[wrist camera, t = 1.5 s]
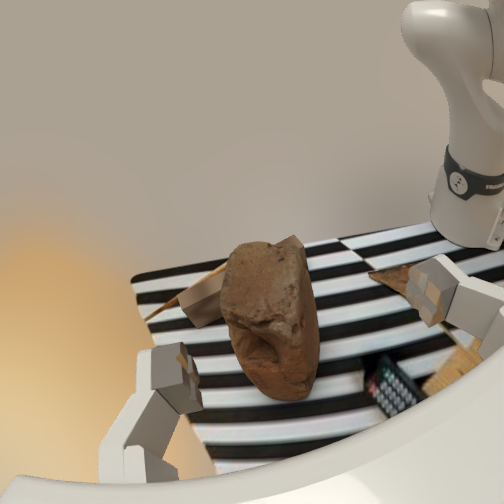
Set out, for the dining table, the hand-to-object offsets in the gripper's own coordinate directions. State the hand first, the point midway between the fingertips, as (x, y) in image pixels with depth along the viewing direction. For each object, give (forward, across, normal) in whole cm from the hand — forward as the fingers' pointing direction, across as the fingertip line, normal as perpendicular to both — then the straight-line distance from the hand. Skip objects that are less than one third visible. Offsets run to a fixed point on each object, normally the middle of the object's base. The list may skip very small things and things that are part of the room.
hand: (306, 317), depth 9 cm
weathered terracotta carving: (+15, -2, +28) cm, 32 cm away
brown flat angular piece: (+19, -22, +25) cm, 39 cm away
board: (+29, 0, +25) cm, 39 cm away
